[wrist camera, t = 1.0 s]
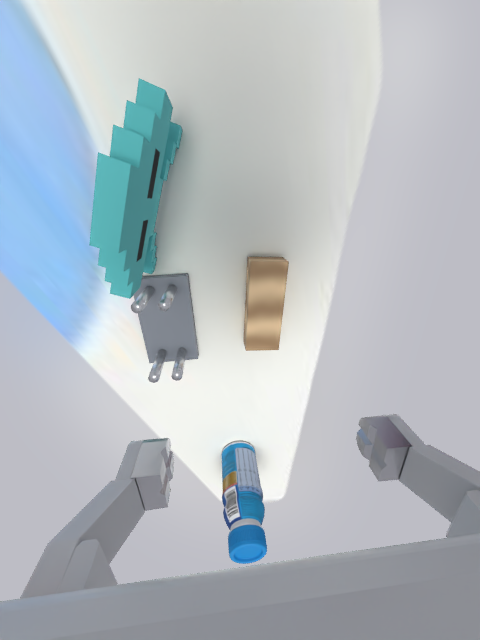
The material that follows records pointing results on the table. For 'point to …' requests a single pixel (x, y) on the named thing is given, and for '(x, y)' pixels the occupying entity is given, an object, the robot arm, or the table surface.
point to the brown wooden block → (264, 302)
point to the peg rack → (166, 322)
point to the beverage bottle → (243, 503)
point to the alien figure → (133, 189)
